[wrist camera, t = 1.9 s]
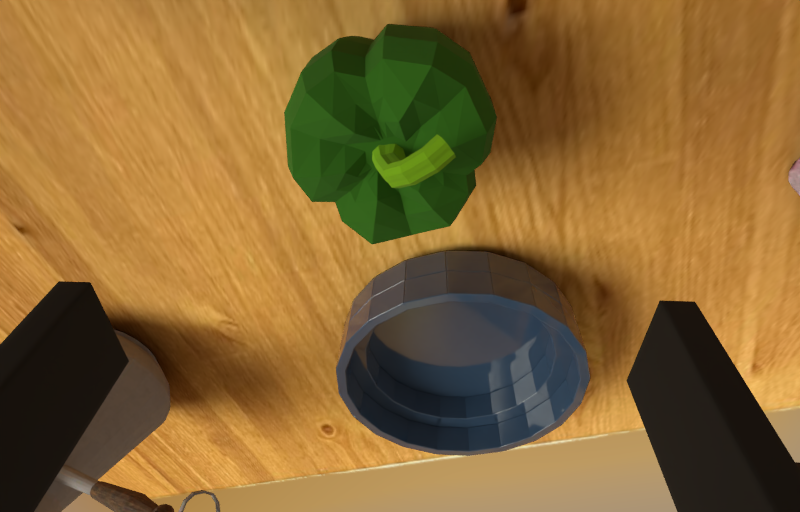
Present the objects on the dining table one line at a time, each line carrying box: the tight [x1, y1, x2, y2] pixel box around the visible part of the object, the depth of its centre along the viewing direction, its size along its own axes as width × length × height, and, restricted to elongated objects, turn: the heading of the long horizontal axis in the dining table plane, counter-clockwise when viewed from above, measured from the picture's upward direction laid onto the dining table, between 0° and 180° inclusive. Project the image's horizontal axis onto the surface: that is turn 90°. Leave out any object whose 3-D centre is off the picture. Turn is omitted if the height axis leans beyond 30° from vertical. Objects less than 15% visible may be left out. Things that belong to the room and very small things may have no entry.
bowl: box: [336, 251, 590, 456], centre depth 33 cm, size 16×16×4 cm
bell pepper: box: [284, 24, 497, 244], centre depth 21 cm, size 8×8×10 cm
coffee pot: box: [34, 329, 220, 512], centre depth 31 cm, size 21×12×15 cm, turn 114°
